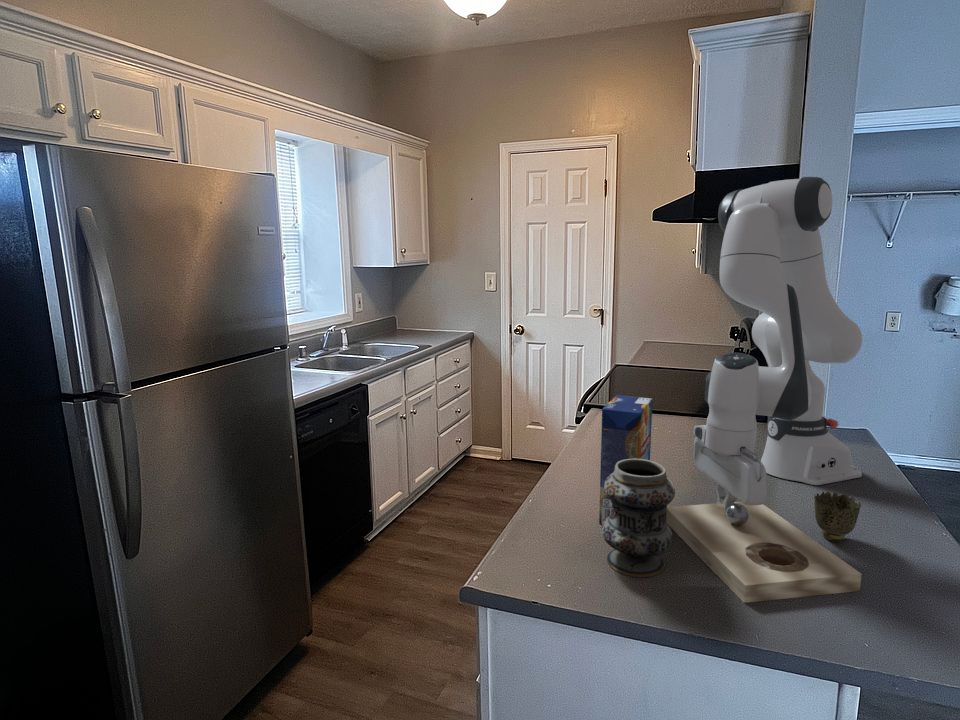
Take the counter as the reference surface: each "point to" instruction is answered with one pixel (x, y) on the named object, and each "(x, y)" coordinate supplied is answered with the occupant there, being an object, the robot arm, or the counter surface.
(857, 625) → the counter surface
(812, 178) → the robot arm
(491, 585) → the counter surface
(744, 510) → the steel ball
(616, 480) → the apothecary jar
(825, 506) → the cup
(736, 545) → the hole board
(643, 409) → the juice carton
